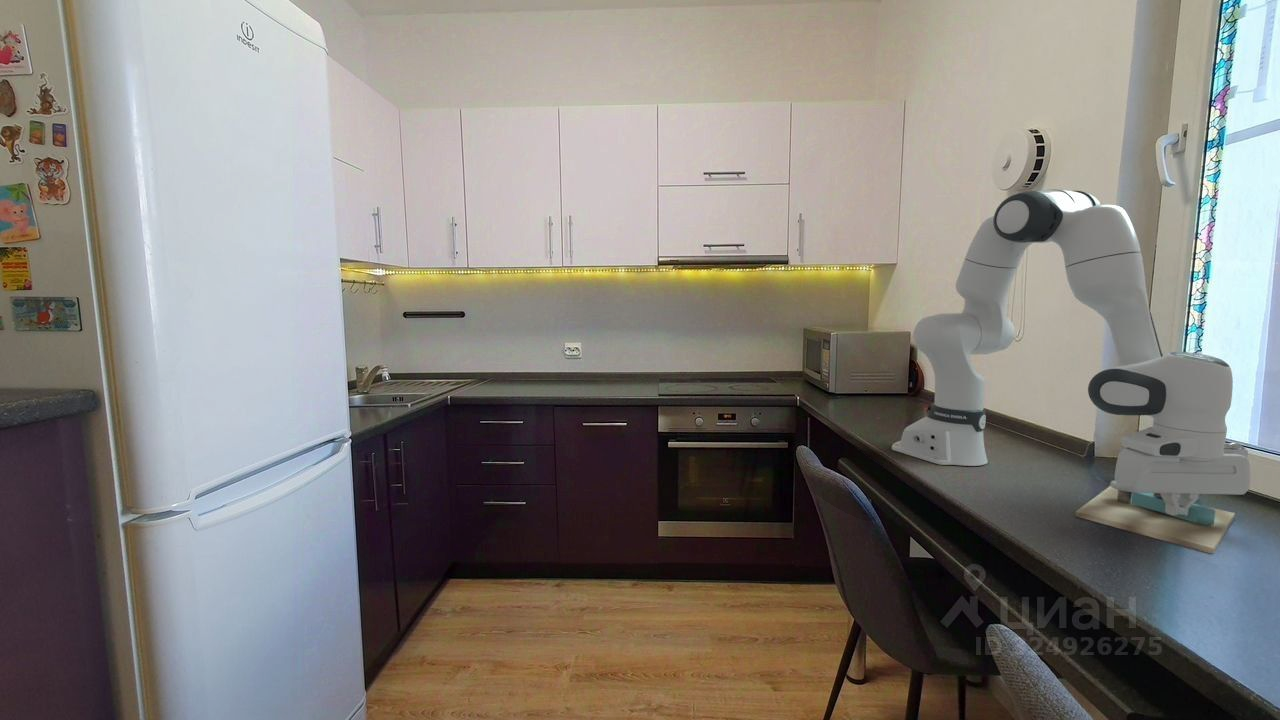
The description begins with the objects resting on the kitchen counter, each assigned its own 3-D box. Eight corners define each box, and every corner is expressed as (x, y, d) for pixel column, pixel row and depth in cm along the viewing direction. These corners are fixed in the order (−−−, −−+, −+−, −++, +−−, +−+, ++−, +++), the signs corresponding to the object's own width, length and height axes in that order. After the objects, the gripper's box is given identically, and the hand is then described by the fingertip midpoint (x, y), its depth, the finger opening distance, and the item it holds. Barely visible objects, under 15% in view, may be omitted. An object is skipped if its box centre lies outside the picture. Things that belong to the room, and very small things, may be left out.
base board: (1075, 516, 94) (1076, 499, 94) (1110, 489, 107) (1111, 474, 107) (1213, 554, 80) (1215, 533, 79) (1234, 518, 93) (1236, 500, 92)
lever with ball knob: (1104, 496, 100) (1105, 482, 99) (1117, 493, 101) (1118, 479, 101) (1206, 527, 86) (1208, 510, 86) (1219, 523, 87) (1221, 506, 87)
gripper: (1227, 437, 90) (1217, 508, 92) (1112, 436, 91) (1103, 506, 93) (1269, 448, 84) (1257, 523, 85) (1144, 446, 85) (1135, 521, 87)
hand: (1176, 514), depth 89 cm, fingers closed
